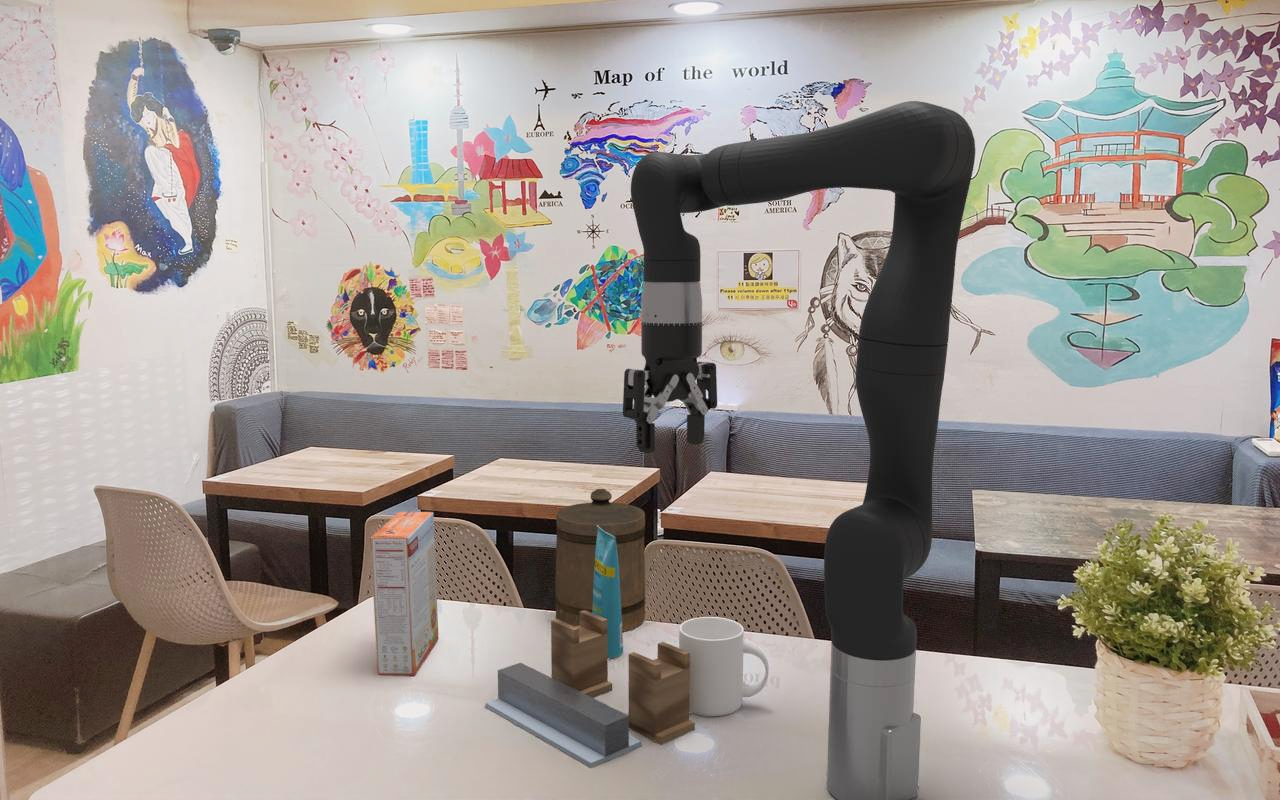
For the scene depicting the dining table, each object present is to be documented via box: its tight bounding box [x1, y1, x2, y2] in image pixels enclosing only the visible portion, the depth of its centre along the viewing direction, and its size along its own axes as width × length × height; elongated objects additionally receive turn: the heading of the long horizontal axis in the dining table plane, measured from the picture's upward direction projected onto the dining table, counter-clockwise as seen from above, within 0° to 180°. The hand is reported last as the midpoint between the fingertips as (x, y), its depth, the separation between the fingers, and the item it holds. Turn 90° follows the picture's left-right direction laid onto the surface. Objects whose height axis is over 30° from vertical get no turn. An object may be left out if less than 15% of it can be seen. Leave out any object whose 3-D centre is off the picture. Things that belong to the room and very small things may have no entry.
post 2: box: [628, 641, 696, 746], centre depth 129 cm, size 7×6×10 cm
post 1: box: [550, 610, 613, 698], centre depth 141 cm, size 7×6×10 cm
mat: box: [485, 698, 642, 768], centre depth 131 cm, size 22×8×1 cm, turn 43°
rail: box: [497, 662, 630, 757], centre depth 130 cm, size 22×4×4 cm, turn 43°
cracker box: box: [369, 511, 439, 676], centre depth 151 cm, size 14×6×21 cm, turn 176°
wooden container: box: [555, 488, 646, 633], centre depth 167 cm, size 15×15×22 cm
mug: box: [678, 616, 770, 718], centre depth 136 cm, size 9×12×11 cm
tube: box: [592, 525, 624, 660], centre depth 153 cm, size 7×5×19 cm, turn 28°
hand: (671, 447), depth 128 cm, fingers open, 8 cm apart
